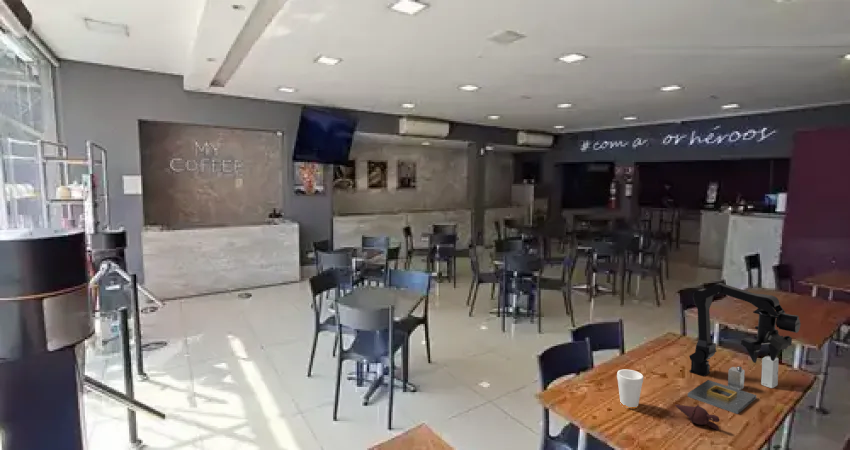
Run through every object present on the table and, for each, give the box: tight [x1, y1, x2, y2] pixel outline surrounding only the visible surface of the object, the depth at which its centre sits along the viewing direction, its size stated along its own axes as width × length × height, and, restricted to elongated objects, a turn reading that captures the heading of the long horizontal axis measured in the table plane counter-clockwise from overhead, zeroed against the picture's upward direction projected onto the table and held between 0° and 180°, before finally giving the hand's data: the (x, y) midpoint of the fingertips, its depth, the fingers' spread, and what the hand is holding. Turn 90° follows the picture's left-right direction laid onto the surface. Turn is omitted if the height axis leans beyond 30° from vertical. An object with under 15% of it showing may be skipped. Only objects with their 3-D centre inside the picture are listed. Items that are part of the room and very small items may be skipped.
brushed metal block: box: [727, 365, 746, 390], centre depth 191 cm, size 4×4×10 cm
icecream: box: [674, 404, 721, 431], centre depth 163 cm, size 7×7×15 cm
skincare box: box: [760, 355, 779, 389], centre depth 192 cm, size 6×4×12 cm
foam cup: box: [616, 369, 644, 407], centre depth 177 cm, size 10×9×13 cm
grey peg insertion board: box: [687, 379, 757, 415], centre depth 182 cm, size 18×20×3 cm
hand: (763, 361), depth 185 cm, fingers open, 9 cm apart
